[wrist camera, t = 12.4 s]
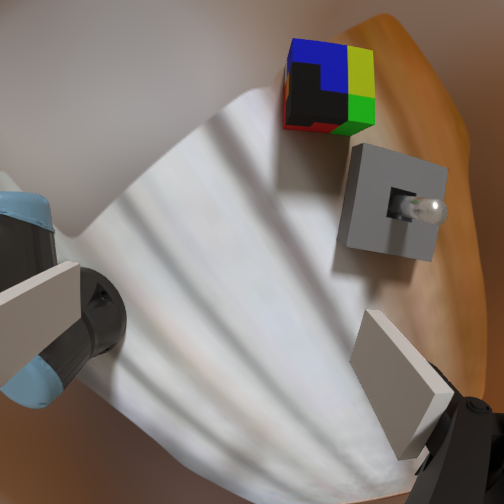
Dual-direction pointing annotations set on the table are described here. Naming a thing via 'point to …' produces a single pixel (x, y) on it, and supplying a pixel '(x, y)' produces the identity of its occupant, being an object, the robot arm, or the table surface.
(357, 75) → the puzzle toy
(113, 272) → the table surface
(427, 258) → the socket block
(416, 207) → the pin
